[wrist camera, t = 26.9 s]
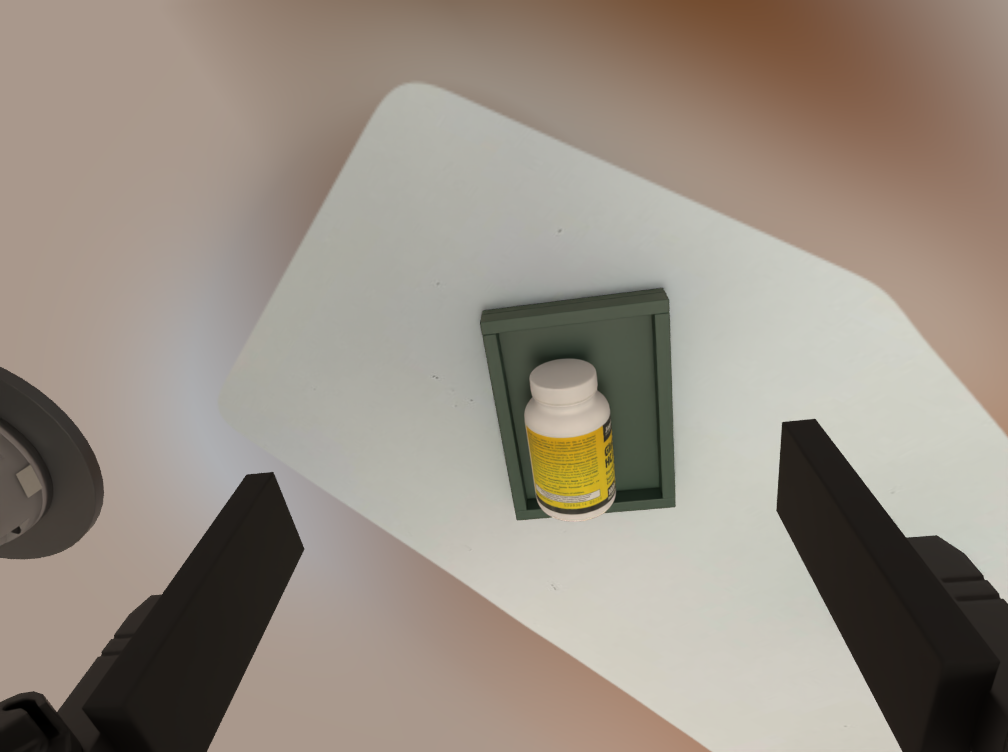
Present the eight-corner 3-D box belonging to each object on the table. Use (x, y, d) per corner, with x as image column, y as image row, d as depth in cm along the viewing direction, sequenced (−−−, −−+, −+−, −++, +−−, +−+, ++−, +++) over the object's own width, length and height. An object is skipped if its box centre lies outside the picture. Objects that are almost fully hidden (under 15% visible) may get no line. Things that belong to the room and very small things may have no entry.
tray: (482, 310, 44) (479, 322, 42) (663, 287, 43) (669, 299, 41) (517, 502, 52) (516, 520, 50) (670, 489, 51) (675, 507, 49)
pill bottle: (627, 515, 44) (619, 385, 39) (545, 532, 44) (525, 403, 39) (604, 467, 50) (594, 346, 45) (530, 481, 50) (512, 362, 45)
